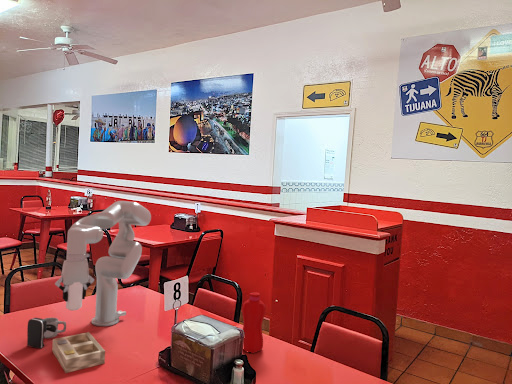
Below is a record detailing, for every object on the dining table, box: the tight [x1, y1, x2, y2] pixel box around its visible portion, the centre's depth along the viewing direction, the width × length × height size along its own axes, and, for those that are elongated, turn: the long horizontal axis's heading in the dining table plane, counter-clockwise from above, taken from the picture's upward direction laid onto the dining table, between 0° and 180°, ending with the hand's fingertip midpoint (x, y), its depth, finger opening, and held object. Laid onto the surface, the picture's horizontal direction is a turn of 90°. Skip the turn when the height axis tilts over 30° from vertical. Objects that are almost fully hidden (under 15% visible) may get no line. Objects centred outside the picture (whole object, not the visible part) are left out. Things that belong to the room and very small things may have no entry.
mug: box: [43, 317, 67, 339], centre depth 178 cm, size 10×7×7 cm
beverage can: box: [65, 282, 83, 311], centre depth 171 cm, size 6×6×12 cm
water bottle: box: [241, 292, 266, 354], centre depth 178 cm, size 9×11×25 cm
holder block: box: [51, 331, 106, 374], centre depth 159 cm, size 14×20×5 cm
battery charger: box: [26, 317, 47, 349], centre depth 166 cm, size 7×4×11 cm, turn 74°
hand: (74, 299), depth 171 cm, fingers closed on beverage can, 6 cm apart
